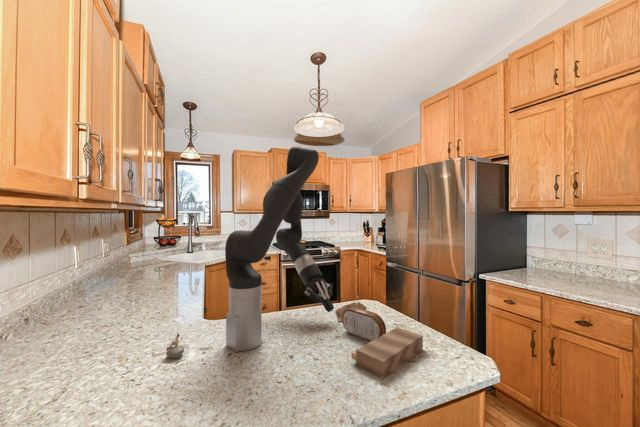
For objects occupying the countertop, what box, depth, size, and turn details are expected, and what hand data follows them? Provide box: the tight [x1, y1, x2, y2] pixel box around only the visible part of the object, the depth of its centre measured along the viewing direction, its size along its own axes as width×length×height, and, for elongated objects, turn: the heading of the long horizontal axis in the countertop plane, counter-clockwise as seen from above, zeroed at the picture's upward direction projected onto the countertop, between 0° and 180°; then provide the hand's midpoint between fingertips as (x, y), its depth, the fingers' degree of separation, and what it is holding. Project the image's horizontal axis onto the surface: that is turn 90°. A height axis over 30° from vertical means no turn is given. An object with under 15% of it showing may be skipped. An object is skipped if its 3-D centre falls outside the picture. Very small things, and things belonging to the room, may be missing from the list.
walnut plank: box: [350, 326, 424, 380], centre depth 74 cm, size 20×10×4 cm, turn 134°
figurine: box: [165, 333, 185, 360], centre depth 75 cm, size 5×4×6 cm
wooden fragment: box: [335, 300, 367, 324], centre depth 109 cm, size 26×11×1 cm, turn 155°
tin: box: [342, 307, 387, 342], centre depth 86 cm, size 15×3×8 cm, turn 46°
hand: (331, 310), depth 95 cm, fingers closed
